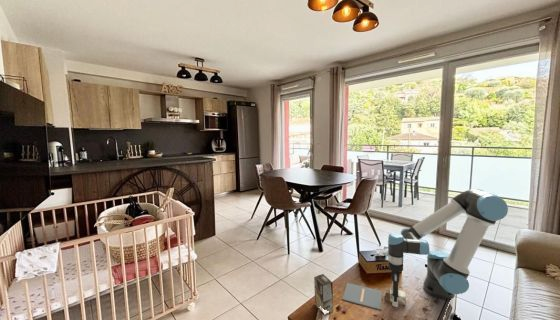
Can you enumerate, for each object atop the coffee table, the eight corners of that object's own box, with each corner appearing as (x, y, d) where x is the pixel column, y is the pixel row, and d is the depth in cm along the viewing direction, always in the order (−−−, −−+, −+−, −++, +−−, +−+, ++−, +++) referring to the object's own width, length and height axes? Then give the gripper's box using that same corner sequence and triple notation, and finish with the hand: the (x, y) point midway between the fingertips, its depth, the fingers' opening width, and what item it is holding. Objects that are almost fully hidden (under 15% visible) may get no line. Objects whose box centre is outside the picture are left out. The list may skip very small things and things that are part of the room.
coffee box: (333, 311, 121) (333, 282, 120) (323, 315, 118) (323, 286, 117) (323, 300, 129) (323, 273, 128) (314, 304, 127) (313, 276, 125)
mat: (381, 292, 135) (381, 291, 135) (380, 310, 121) (380, 309, 120) (347, 283, 144) (347, 282, 144) (342, 299, 129) (342, 298, 129)
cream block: (405, 299, 128) (405, 291, 128) (405, 305, 124) (405, 297, 123) (385, 294, 133) (385, 287, 132) (385, 300, 128) (385, 292, 128)
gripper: (388, 251, 138) (387, 285, 140) (387, 271, 117) (387, 311, 119) (402, 253, 135) (401, 288, 137) (404, 274, 114) (403, 315, 116)
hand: (395, 299), depth 128 cm, fingers open, 11 cm apart
